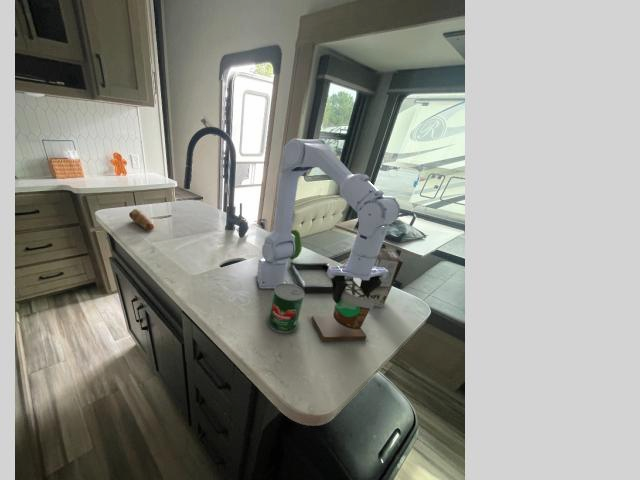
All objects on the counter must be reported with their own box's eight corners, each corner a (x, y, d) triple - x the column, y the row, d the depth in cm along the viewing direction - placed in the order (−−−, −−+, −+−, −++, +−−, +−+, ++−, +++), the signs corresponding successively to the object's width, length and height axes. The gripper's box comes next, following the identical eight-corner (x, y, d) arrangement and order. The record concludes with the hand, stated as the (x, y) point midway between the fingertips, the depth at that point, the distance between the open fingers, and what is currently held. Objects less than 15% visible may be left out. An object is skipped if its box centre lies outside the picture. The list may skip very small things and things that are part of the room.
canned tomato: (270, 332, 72) (275, 299, 66) (267, 314, 79) (272, 282, 72) (299, 333, 72) (307, 300, 66) (294, 315, 79) (301, 283, 73)
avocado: (291, 252, 115) (296, 225, 108) (303, 260, 109) (309, 232, 102) (276, 255, 112) (280, 227, 105) (287, 263, 106) (292, 234, 99)
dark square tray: (302, 293, 89) (303, 286, 88) (289, 268, 103) (290, 262, 102) (344, 292, 91) (346, 286, 90) (326, 268, 105) (327, 263, 104)
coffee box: (383, 307, 85) (404, 262, 76) (362, 304, 86) (380, 258, 77) (377, 292, 93) (395, 249, 83) (358, 289, 93) (374, 246, 84)
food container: (322, 304, 77) (331, 274, 72) (342, 304, 78) (353, 275, 72) (339, 333, 67) (350, 301, 62) (362, 333, 68) (375, 301, 62)
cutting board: (322, 341, 71) (323, 337, 70) (311, 319, 78) (312, 315, 77) (364, 340, 72) (366, 336, 71) (350, 318, 79) (351, 315, 78)
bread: (142, 218, 138) (140, 207, 135) (156, 231, 126) (155, 219, 123) (129, 220, 135) (127, 209, 131) (143, 233, 122) (141, 221, 119)
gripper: (342, 260, 57) (326, 310, 65) (403, 260, 59) (381, 309, 67) (329, 246, 63) (316, 294, 71) (386, 247, 65) (367, 293, 73)
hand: (347, 300), depth 69 cm, fingers closed on food container, 6 cm apart
